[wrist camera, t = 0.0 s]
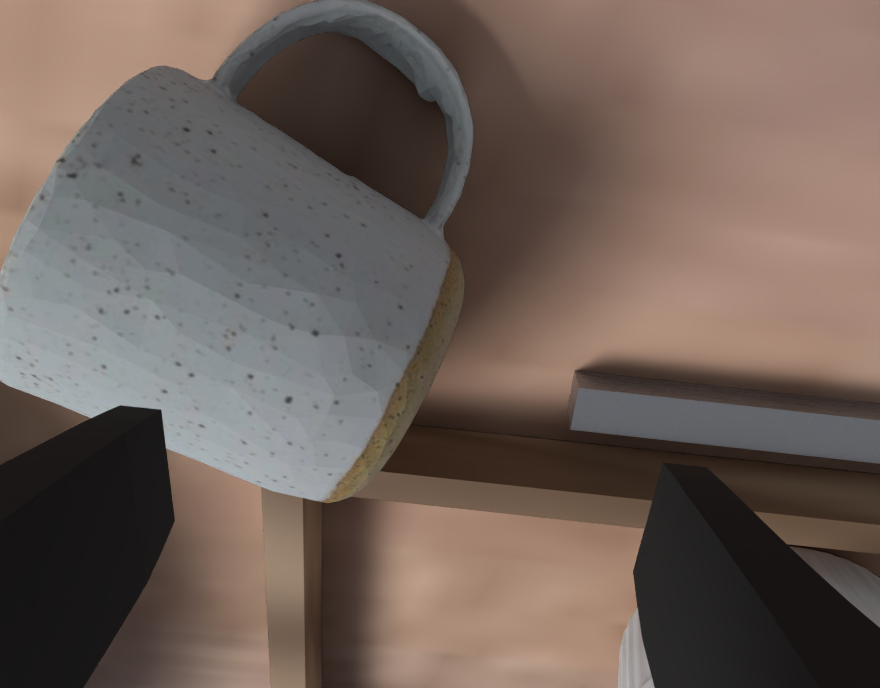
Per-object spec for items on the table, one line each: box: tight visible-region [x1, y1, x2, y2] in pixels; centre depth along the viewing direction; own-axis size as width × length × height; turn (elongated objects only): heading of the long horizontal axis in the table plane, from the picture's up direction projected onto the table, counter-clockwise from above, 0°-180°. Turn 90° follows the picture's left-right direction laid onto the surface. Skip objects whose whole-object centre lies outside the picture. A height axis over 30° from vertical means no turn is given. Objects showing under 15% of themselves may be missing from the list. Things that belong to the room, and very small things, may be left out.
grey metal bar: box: [567, 371, 880, 464], centre depth 20 cm, size 1×12×1 cm, turn 85°
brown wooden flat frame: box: [261, 425, 880, 688], centre depth 24 cm, size 15×23×2 cm, turn 85°
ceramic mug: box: [0, 0, 473, 503], centre depth 15 cm, size 11×8×8 cm
